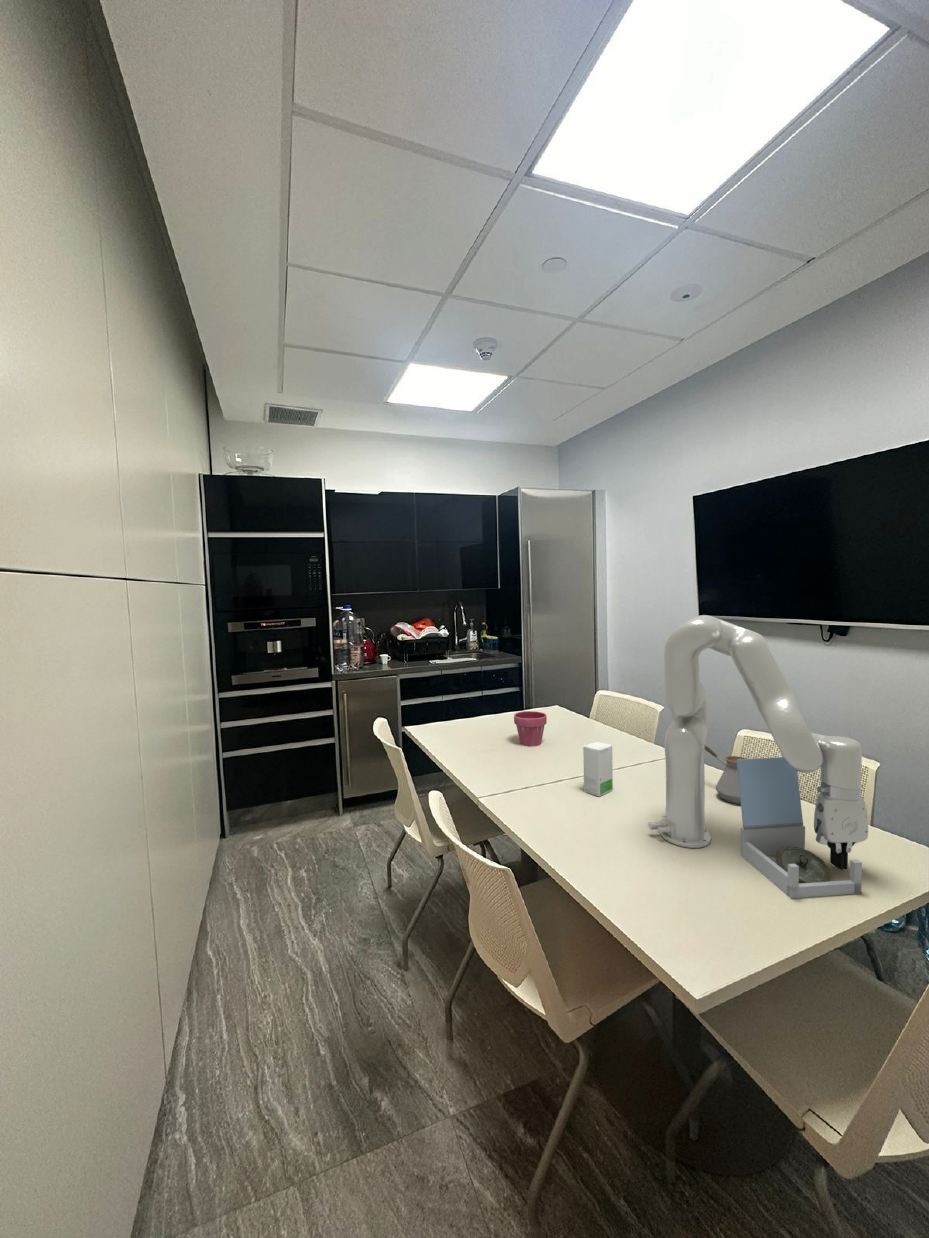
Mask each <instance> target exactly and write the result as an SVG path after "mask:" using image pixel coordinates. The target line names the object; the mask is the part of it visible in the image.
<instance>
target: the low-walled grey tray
mask: <svg viewBox="0 0 929 1238" xmlns="http://www.w3.org/2000/svg"><path fill="white" fill-rule="evenodd" d="M787 846H789V847H791V846H794V847H799V848H802V849H805V850H806V826H805V825H804V824H803V825H796V826H780V827H763V828H747V829H744V828H743V827H741V828H740V856H741V857H743V858H744V860H745V861H747V862H748V863H750V864H751V865H752V866H753V867H754V868H755V869H756V870H757V871H759V872H760V874H762V875H763V876H765V877H766V878H767V879H768V880H769V881H770V882H771V883H773V884H774V885H775V886H776V887H777V888H778V889H780V890H781V891H782V892H783V893H784V894H786V895H787V896H788V897H789V898H790V899H802V898H803V899H804V898H815V897H817V898H818V897H830V896H842V895H843V896H845V895H859V894H862V877H863V876H862V874H863V873H862V869H863V862H862V861H860V860H859V859H850V861H849V879H845V880H832V881H827V882H815V883H800V882H799V866H797V865H796V864H788V873H787V872H786V871H785V870H783V869H782V868H781V867H780V866H778V864H777V862H774V861H773V860H772V859H771V858H769V857H772V856H773V857H774V856H775V857H776V852H777V851H778V850H780V849H781V848H783V847H787Z"/></svg>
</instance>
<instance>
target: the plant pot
mask: <svg viewBox="0 0 929 1238" xmlns="http://www.w3.org/2000/svg"><path fill="white" fill-rule="evenodd" d="M547 716H548V715H547V714H546V713H545V712H542V711H535V710H534V711H533V710H531V711H530V710H528V711H527V710H526V711H519V712H516V713H514V715H513V722H514V723H513V724H515V725H516V729H517V730H516V731H517V735H518V737H519V738H518V739H519V742H520V744H521V745H522V746H526V747H537V746H540V745H541V744H542V741H543V736H544V730H545V726H546V725H547V722H548V721H547V719H548V718H547Z"/></svg>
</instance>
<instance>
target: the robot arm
mask: <svg viewBox="0 0 929 1238" xmlns="http://www.w3.org/2000/svg"><path fill="white" fill-rule="evenodd" d="M707 649H711V650H713V651H715V652H718V653H721V654H723V655H726V656H728V657H731V659H732V662H733V663H734V665H735V667H736V669H737V671H738V673H739V674H740V677H742V680H743V682H744V683H745V686H746V688H747V690H748V692H749V694H750V696H751V698H752V699H753V702H754V703H755V706H756V708H757V710H758V712H759V713H760V715H761V717H762V719H763V720H764V723H765V725H766V727H767V728H768V730H769V733H770V734H771V737H772V739H773V741H774V743H775V744H776V746H777V748H778V750H779V752H780V754H781V757H783V758H784V759H785V761H786V763H787V764H788V765H789V766H790V767H791V768H793V769H794V770H796V771H797V772H799V773H802V774H806V773H807V774H810V773H813V772H816V771H817V770H819V769H820V783H819V784H820V786H817V787H816V790H817V792H818V794H817V799H816V800H815V801H816V803H815V807H814V808H815V809H814V816H813V829H814V831H813V832H814V833H815V834H816V838H815V841H816V842H817V843H818V844H819V845H824V846H827V847H828V848H829V849H830V851H829V852H830V855H829V861H830V864H831V865H833V866H834V867H836V868H837V869H839V870H841V871H843V870H848V868H849V867H848V865H849V853H851V852H852V848H853V846H854V845H855V844H858V843H861V842H864V841H867V839H868V837H869V820H868V819H869V817H868V810H867V806H866V801H865V799H864V797H862V765H863V764H862V761H863V760H862V758H863V757H862V754H863V751H862V749H863V748H862V745H861V743H860V742H859V741H857V740H856V739H854V738H851V737H846V736H842V735H841V736H839V735H830V736H829V735H823V734H819V733H815V732H812V731H810V729H809V728H808V725H807V723H806V722H805V720H804V717H803V715H802V713H801V711H800V709H799V706H798V704H797V700H796V697H795V694H794V692H793V690H792V688H791V686H790V683H789V682H788V680H787V679H786V677H785V675H784V674H783V671H782V670H781V667H780V666H779V664H778V663H777V661H776V658H775V657H774V655H773V653H772V651H771V649H770V647H769V646H768V642H767V640H766V638H765V637H764V636H763V635H761V634H760V633H758V632H756V631H754V630H752V629H751V630H750V629H747V628H744V627H742V626H739V625H736V624H734V623H732V622H729V621H725V620H723V619H720V618H717V617H715V616H712V615H707V614H702V615H697V616H696V617H693V618H691V619H689V620H687V621H685V622H684V623H682V624H680V625H679V626H677V627H676V628H675V629H674V630H673V631H672V632H671V633H670V635H669V636H668V637H667V640H666V643H665V646H664V650H663V651H664V653H663V655H664V656H663V660H664V701H665V704H666V708H667V709H668V710H669V712H670V723H671V724H670V725H669V726H668V729H667V730H666V732H665V736H664V742H663V743H664V744H663V745H664V756H665V757H664V758H665V759H664V760H665V816H662V817H661V818H662V820H658V821H649V822H648V823H647V826H648V829H649V830H650V831H651V830H657V833H658V834H660V836H661V837H662V838H663V839H664V840H665V841H667V842H669V843H671V844H673V845H676V846H678V847H683V848H692V849H697V848H698V849H699V848H705V847H707V846H708V845H710V843H711V842H712V836H711V834H710V832H709V831H708V830H706V829H705V806H706V805H705V792H706V791H705V780H706V779H705V777H706V776H705V775H706V774H705V746H706V743H707V739H708V733H709V732H708V730H709V729H708V728H709V727H708V726H709V725H708V712H707V711H708V710H707V708H708V707H707V694H706V690H705V687H704V685H703V684H702V683H701V681H700V663H699V659H700V655H701V653H702V652H703V651H705V650H707Z"/></svg>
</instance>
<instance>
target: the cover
mask: <svg viewBox="0 0 929 1238" xmlns="http://www.w3.org/2000/svg"><path fill="white" fill-rule="evenodd" d="M737 771H738V781H739V791H740V801H741V804H740V810H741V821H742V828H744V829H747V828H763V827H780V826H796V825H804V820H803V811H802V804H801V803H802V801H801V792H800V791H801V790H800V784H799V783H800V782H799V774H798V771H796V770H794V769H793V768H791V767H790V766H789V765H788V764H787V763H786V761H785V759H784V758H783V756H781V757H779V756H778V757H760V758H758V757H757V758H746V759H737Z"/></svg>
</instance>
